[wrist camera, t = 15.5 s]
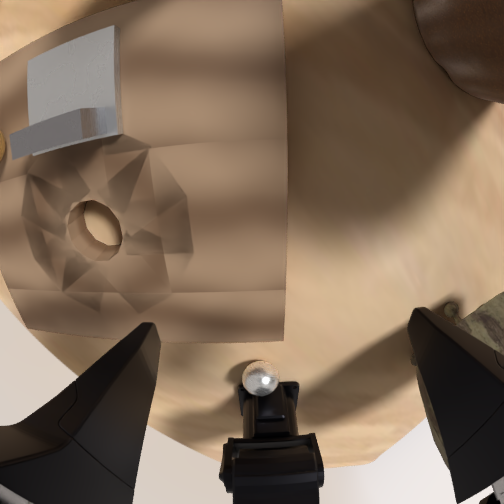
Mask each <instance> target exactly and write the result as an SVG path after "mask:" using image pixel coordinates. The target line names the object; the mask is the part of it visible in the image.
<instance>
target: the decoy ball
mask: <svg viewBox="0 0 504 504" xmlns="http://www.w3.org/2000/svg"><path fill="white" fill-rule="evenodd" d="M4 152H5V137H4V135H3V133H2V131H1V130H0V161H1V159H2V158H3V155H4Z"/></svg>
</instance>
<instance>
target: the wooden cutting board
mask: <svg viewBox="0 0 504 504" xmlns="http://www.w3.org/2000/svg"><path fill="white" fill-rule="evenodd" d="M113 25H115V26H117V27H119V28H120V38H119V65H120V93H121V110H122V122H123V134H118V135H113V136H108V137H104V138H99V139H94V140H90V141H86V142H82V143H78V144H74V145H70V146H66V147H62V148H59V149H55V150H52V151H48V152H45V153H42V154H38V155H35V156H33V154H29V155H27V156H24V157H21V158H18V159H15V160H12V153H11V146H10V137H9V135H10V134H12V133H14V132H16V131H19V130H21V129H24V128H26V127H28V126H29V115H28V94H27V67H28V61H29V60H31V59H33V58H35V57H36V56H38V55H40V54H42V53H44V52H47V51H49V50H51V49H53V48H55V47H57V46H59V45H62V44H64V43H66V42H69V41H71V40H74V39H76V38H79V37H81V36H84V35H86V34H89V33H92V32H95V31H98V30H100V29H103V28H107V27H110V26H113ZM0 130H1V131H2V133H3V135H4V137H5V152H4V155H3V158H2V159H1V161H0V270H1V273H2V275H3V278H4V280H5V283H6V285H7V287H8V290H9V292H10V294H11V296H12V298H13V301H14V303H15V305H16V307H17V309H18V311H19V313H20V315H21V317H22V319H23V321H24V323H25V325H26V327H27V328H28V329H34V330H41V331H47V332H54V333H61V334H69V335H77V336H86V337H96V338H107V339H119V340H122V339H123V338H124V337H125V336H127V335H128V334H129V333H130V332H131V331H133V330H134V329H135V328H136V327H137V326H138V325H140V324H141V323H142V322H153V323H155V325H156V328H157V331H158V334H159V337H160V341H161V342H175V343H246V342H272V341H283V340H284V319H285V295H286V263H287V209H288V147H287V95H286V65H285V43H284V24H283V8H282V0H137V1H133V2H130V3H126V4H123V5H119V6H116V7H113V8H110V9H107V10H104V11H101V12H98V13H96V14H93V15H90V16H88V17H85V18H82V19H80V20H78V21H75V22H73V23H70V24H68V25H66V26H64V27H61V28H59V29H57V30H55V31H53V32H51V33H49V34H47V35H45V36H43V37H41V38H39V39H37V40H35V41H34V42H32V43H30V44H28V45H26V46H25V47H23V48H21V49H19V50H18V51H16V52H15V53H13V54H11V55H10V56H8V57H7V58H5V59H3V60H2V61H0ZM89 200H95V201H97V202H99V203H101V204H103V205H106V206H108V207H109V208H110V210H111V211H112V212H113V214H114V215H115V216H116V218H117V219H118V220H119V222H120V227H121V232H122V236H123V240H122V243H121V245H112V246H107V245H105V244H103V243H101V242H99V241H97V240H95V238H94V237H93V236H92V234H91V233H90V232H89V231H88V229H87V227H86V223H85V219H84V215H83V213H84V209H85V205H86V201H89Z"/></svg>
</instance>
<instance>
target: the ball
mask: <svg viewBox="0 0 504 504" xmlns="http://www.w3.org/2000/svg"><path fill="white" fill-rule="evenodd" d="M242 382H243V385H244V387H245V389H246V390H247V391H248V392H249V393H251V394H253V395H256V396H265V395H268V394H270V393H272V392H273V391H274V390H275V389H276V387H277V386H278V383H279V374H278V371H277V369H276V368H275V367H274V366H273V365H272V364H271V363H269V362H266V361H256V362H253V363H251V364H249V365H248V366H247V367H246V368H245V370H244V372H243V375H242Z"/></svg>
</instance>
